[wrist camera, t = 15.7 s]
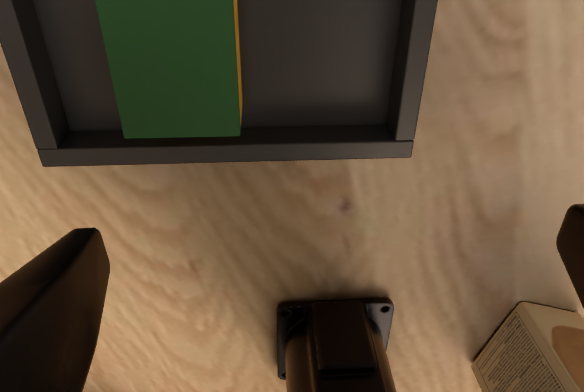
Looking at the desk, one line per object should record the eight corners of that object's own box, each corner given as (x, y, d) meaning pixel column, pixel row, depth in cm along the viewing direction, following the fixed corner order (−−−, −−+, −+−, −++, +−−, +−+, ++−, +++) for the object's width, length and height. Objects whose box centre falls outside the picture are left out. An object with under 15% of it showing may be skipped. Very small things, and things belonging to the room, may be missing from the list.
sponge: (233, -69, 16) (229, -57, 13) (242, 101, 19) (240, 136, 17) (109, -69, 16) (82, -57, 13) (141, 103, 19) (124, 139, 16)
